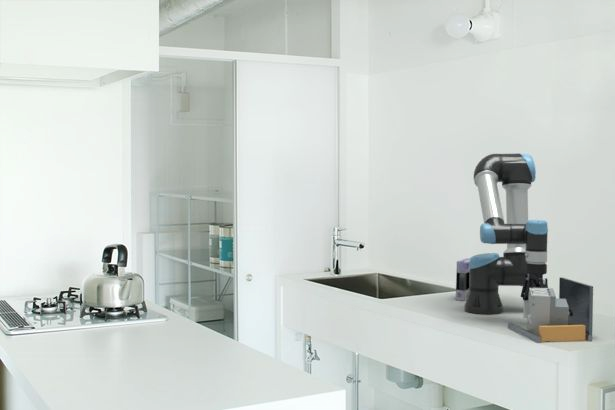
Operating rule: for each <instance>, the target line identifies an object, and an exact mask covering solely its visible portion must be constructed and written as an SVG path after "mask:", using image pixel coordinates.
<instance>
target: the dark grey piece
mask: <svg viewBox="0 0 615 410" xmlns="http://www.w3.org/2000/svg"><path fill="white" fill-rule="evenodd" d="M558 280H559V284H558V285H559V287H558V289H559V293H558V295H559V296H558V299H566V301H567V304H568V307H569V309H571V310H572V312H573V316H569V318H568V325H585V326H586V327H585V341H587V342H592V341H593V326H594V324H593V319H594V317H593V316H594V315H593V314H594V286H593V285H589V284H587V283H583V282H581V281H577V280H573V279H569V278H566V277H559V279H558ZM507 328H508V329H510V330H511V331H513V332H515V333H517V334H519V335H521V336H523V337H525V338H527V339H529V340H531V341H533V342H535V343H537V344H540V343H542V342H541V336H539V335H536V334H534V333H532V332H530V331H528V329H526V328H524V327H522V326H519V325H517V323H513V322H510V321H508V322H507Z"/></svg>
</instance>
